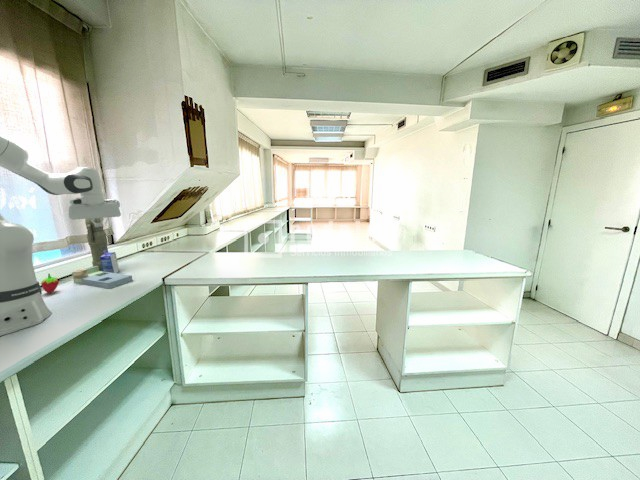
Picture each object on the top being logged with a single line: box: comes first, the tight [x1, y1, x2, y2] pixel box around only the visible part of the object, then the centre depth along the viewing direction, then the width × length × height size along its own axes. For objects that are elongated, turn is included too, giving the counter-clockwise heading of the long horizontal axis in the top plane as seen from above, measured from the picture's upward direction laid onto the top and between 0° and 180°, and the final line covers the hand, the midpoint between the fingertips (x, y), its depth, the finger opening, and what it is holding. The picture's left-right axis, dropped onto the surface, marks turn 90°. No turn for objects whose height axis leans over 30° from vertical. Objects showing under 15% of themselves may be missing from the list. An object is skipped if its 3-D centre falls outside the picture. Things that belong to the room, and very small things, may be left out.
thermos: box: [84, 218, 109, 271], centre depth 156 cm, size 9×12×35 cm
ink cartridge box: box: [100, 250, 120, 273], centre depth 153 cm, size 10×6×14 cm, turn 25°
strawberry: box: [40, 273, 60, 294], centre depth 125 cm, size 6×7×10 cm
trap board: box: [71, 266, 134, 289], centre depth 140 cm, size 12×28×6 cm, turn 71°
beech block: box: [72, 268, 89, 279], centre depth 138 cm, size 4×4×4 cm
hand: (98, 226), depth 133 cm, fingers closed
